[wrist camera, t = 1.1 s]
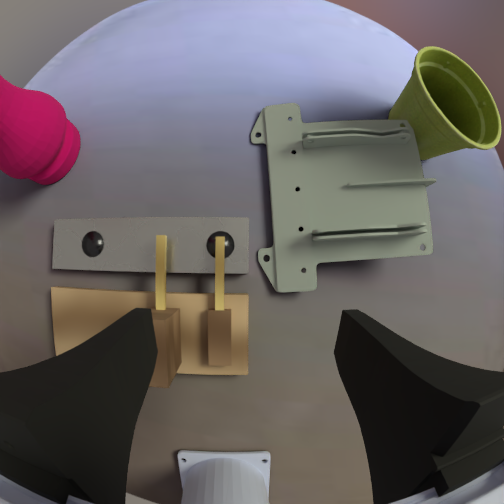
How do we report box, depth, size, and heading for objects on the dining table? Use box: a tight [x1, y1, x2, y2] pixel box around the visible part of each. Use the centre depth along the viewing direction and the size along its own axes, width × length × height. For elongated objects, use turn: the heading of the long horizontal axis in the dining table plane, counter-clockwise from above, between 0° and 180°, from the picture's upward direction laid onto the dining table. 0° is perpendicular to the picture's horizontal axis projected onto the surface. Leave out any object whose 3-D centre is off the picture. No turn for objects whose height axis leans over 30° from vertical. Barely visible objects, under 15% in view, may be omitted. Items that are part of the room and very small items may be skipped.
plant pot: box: [388, 47, 501, 160], centre depth 20 cm, size 9×9×9 cm
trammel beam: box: [51, 237, 248, 375], centre depth 20 cm, size 10×16×2 cm, turn 90°
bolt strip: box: [52, 217, 249, 274], centre depth 21 cm, size 4×16×1 cm, turn 90°
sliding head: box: [147, 235, 182, 388], centre depth 18 cm, size 9×2×5 cm, turn 0°
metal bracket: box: [251, 103, 436, 292], centre depth 22 cm, size 14×6×15 cm
